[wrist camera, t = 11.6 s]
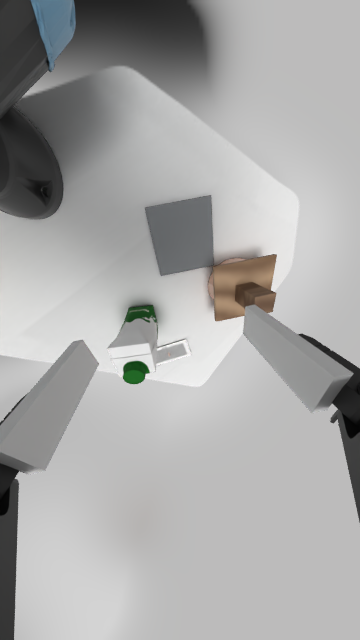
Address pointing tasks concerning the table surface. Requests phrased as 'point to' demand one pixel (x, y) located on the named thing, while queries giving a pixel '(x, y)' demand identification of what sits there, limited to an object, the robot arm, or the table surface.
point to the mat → (182, 234)
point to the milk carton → (136, 345)
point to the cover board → (237, 277)
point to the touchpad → (172, 352)
